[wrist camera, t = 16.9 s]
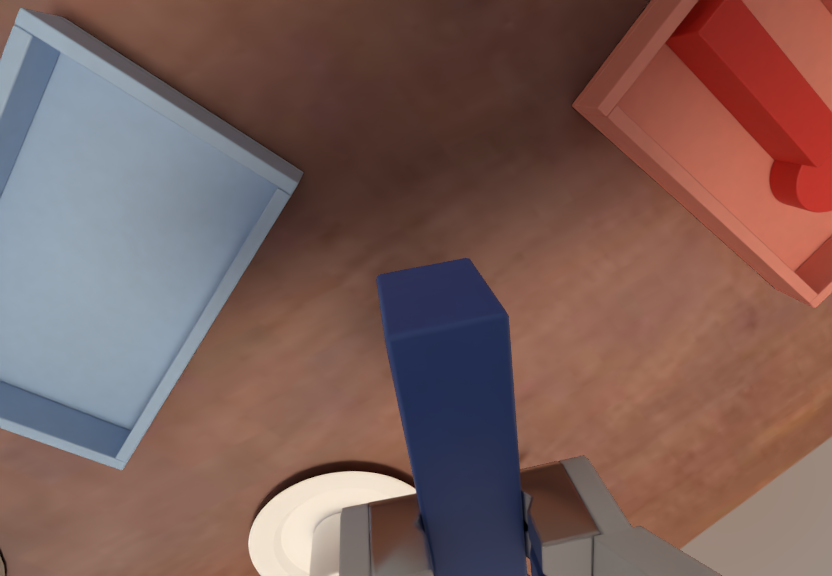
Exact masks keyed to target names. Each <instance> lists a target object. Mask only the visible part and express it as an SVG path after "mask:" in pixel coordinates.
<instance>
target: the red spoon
mask: <svg viewBox="0 0 832 576" xmlns="http://www.w3.org/2000/svg"><path fill="white" fill-rule="evenodd" d="M665 43H666V44H667V45H668V46H669V47H670V48H671V49H672V50H673V51H674V53H675V54H676V55H677V56H678V57H679V58H680V59H681V60H682V61H683V62H684V63H685V64H686V66H687V67H688V68H689V69H690V70H691V71H692V72H693V73H694V74H695V75H696V76H697V77H698V78H699V80H700V81H701V82H702V83H703V84H704V85H705V86H706V87H707V88H708V89H709V90H710V91H711V92H712V94H713V95H714V96H715V97H716V98H717V99H718V100H719V101H720V102H721V103H722V104H723V105H724V106H725V108H726V109H727V110H728V111H729V112H730V113H731V114H732V115H733V116H734V117H735V118H736V119H737V121H738V122H739V123H740V124H741V125H742V126H743V127H744V128H745V129H746V130H747V131H748V132H749V133H750V135H751V136H752V137H753V138H754V139H755V140H756V141H757V142H758V143H759V144H760V145H761V146H762V147H763V149H764V150H765V151H766V152H767V153H768V154H769V155H770V156H771V157H772V158H773V159H774V163H773V165H772V168H771V173H770V187H771V190H772V193H773V195H774V196H775V197H776V199H777V200H779V201H780V202H781V203H783V204H786V205H789V206H793V207H796V208H800V209H804V210H807V211H811V212H816V213H822V212H828V211H832V112H831V110H830V109H829V108H828V107H827V105H826V104H825V103H824V102H823V100H822V99H821V98H820V97H819V95H818V94H817V93H816V92H815V91H814V89H813V88H812V87H811V86H810V84H809V83H808V82H807V81H806V79H805V78H804V77H803V76H802V74H801V73H800V72H799V71H798V69H797V68H796V67H795V66H794V65H793V63H792V62H791V61H790V60H789V58H788V57H787V56H786V55H785V53H784V52H783V51H782V50H781V48H780V47H779V46H778V45H777V43H776V42H775V41H774V40H773V38H772V37H771V36H770V35H769V34H768V32H767V31H766V30H765V29H764V27H763V26H762V25H761V24H760V22H759V21H758V20H757V19H756V17H755V16H754V15H753V14H752V12H751V11H750V10H749V9H748V8H747V6H746V5H745V4H744V3H743V1H742V0H699V1H698V2H697V3H696V4H695V6H694V7H693V8H692V9H691V11H690V12H689V13H688V14H687V16H686V17H685V18H684V20H683V21H682V22H681V23H680V25H679V26H678V27H677V28H676V30H675V31H674V32H673V33H672V35H671V36H670V37H669V39H668V40H667V41H666V42H665Z"/></svg>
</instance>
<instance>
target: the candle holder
mask: <svg viewBox="0 0 832 576" xmlns="http://www.w3.org/2000/svg"><path fill="white" fill-rule="evenodd" d="M415 493H416V489H415V488H413V487H412V486H410V485H409V484H407V483H405V482H403V481H401V480H398V479H396V478H393V477H390V476H387V475H383V474H378V473H372V472H363V471H344V472H334V473H328V474H323V475H319V476H315V477H312V478H309V479H306V480H304V481H301V482H299V483H297V484H295V485H293V486H291V487H289V488H287V489H285V490H284V491H282V492H281V493H279V494H278V495H277V496H275V497H274V498H273V499H272V500H271V501H269V502H268V503H267V504H266V505H265V507H264V508H263V509H262V510H261V511H260V513H259V514H258V516H257V517H256V519H255V521H254V523H253V525H252V527H251V530H250V534H249V542H248V546H249V553H250V557H251V560H252V563H253V565H254V566H255V568H256V570H257V571H258V573H259V574H260V575H261V576H339V554H340V516H341V512H342V508H345V507H350V506H355V505H360V504H365V503H369V502H374V501H379V500H384V499H389V498H394V497H400V496H405V495H410V494H415Z"/></svg>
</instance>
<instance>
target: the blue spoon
mask: <svg viewBox="0 0 832 576" xmlns="http://www.w3.org/2000/svg"><path fill="white" fill-rule="evenodd" d="M376 281H377V288H378V295H379V302H380V309H381V317H382V324H383V331H384V338H385V343H386V348H387V353H388V358H389V363H390V368H391V372H392V377H393V382H394V387H395V392H396V397H397V401H398V406H399V411H400V416H401V421H402V426H403V430H404V435H405V440H406V445H407V450H408V455H409V459H410V464H411V469H412V474H413V479H414V484H415V488H416V493H417V498H418V503H419V508H420V512H421V515H422V520H423V524H424V529H425V533H426V534H427V538H428V543H429V547H430V552H431V557H432V562H433V568H434V574H435V576H530V575H528V574H527V564H526V553H525V539H524V522H523V512H522V498H521V481H520V467H519V453H518V439H517V425H516V411H515V397H514V383H513V369H512V355H511V342H510V328H509V316H508V314H507V312H506V311H505V309H504V308H503V306H502V305H501V304H500V302H499V301H498V299H497V298H496V296H495V295H494V293H493V292H492V291H491V289H490V288H489V286H488V285H487V283H486V282H485V280H484V279H483V278H482V276H481V275H480V273H479V272H478V270H477V269H476V267H475V266H474V264H473V263H472V262H471V260H470V259H468V258H463V259H458V260H453V261H448V262H442V263H437V264H432V265H427V266H421V267H416V268H411V269H405V270H400V271H395V272H390V273H384V274H380V275H378V276H377V279H376Z"/></svg>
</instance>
